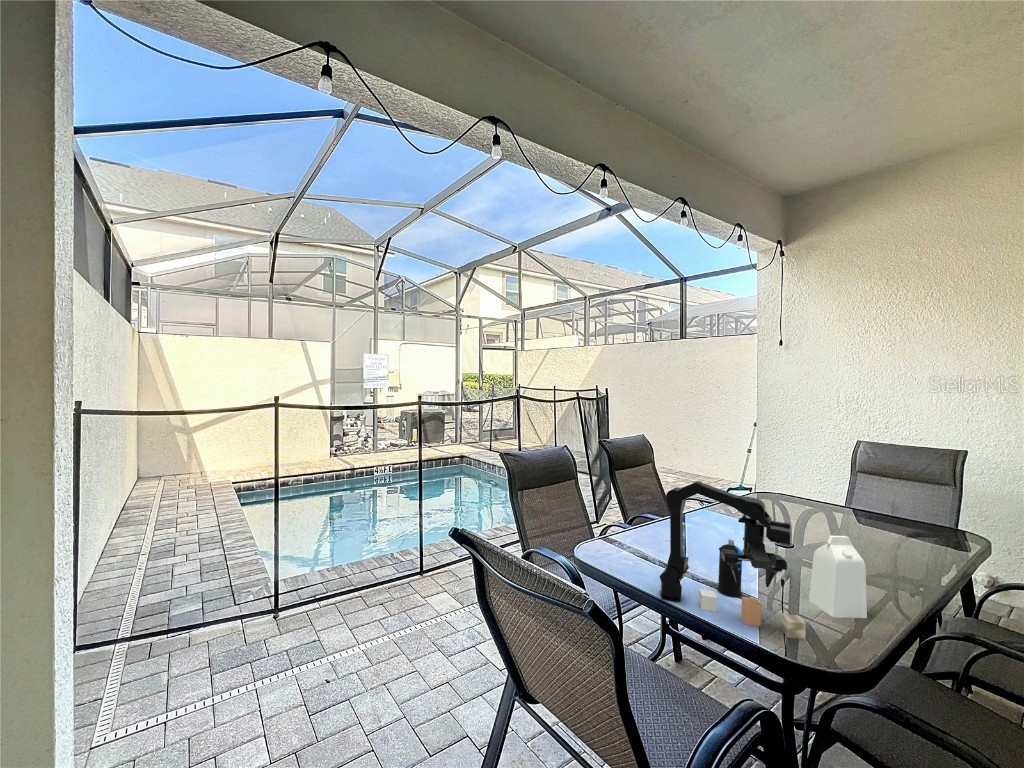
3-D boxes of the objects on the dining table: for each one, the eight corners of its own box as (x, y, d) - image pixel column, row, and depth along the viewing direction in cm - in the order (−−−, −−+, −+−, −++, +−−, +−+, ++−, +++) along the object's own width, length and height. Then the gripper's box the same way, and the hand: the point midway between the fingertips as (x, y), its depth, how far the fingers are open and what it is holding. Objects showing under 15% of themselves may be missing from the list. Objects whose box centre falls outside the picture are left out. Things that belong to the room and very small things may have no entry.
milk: (840, 601, 159) (842, 531, 159) (866, 618, 147) (869, 542, 148) (808, 600, 158) (811, 530, 159) (833, 617, 147) (835, 541, 147)
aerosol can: (715, 593, 161) (717, 540, 161) (719, 585, 168) (721, 534, 168) (740, 599, 157) (742, 545, 157) (742, 591, 163) (744, 539, 164)
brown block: (745, 624, 140) (746, 602, 140) (741, 617, 144) (741, 596, 144) (760, 626, 139) (761, 604, 139) (755, 619, 143) (756, 598, 143)
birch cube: (787, 637, 133) (787, 621, 133) (780, 628, 138) (781, 613, 138) (805, 639, 132) (805, 623, 132) (798, 631, 137) (798, 615, 137)
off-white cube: (701, 609, 148) (702, 595, 148) (698, 603, 153) (699, 589, 153) (717, 612, 147) (717, 597, 147) (713, 605, 152) (714, 591, 152)
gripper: (730, 542, 136) (728, 591, 136) (795, 550, 132) (793, 600, 132) (721, 531, 147) (719, 576, 147) (781, 538, 143) (779, 584, 143)
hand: (751, 584), depth 142 cm, fingers open, 9 cm apart
